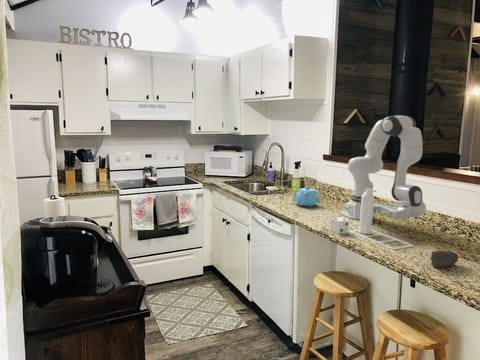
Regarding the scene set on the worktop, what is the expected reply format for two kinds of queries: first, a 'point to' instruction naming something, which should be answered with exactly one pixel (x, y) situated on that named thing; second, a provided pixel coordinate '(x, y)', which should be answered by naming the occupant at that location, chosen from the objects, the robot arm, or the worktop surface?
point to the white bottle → (366, 212)
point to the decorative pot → (306, 197)
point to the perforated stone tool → (443, 258)
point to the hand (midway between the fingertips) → (376, 210)
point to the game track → (383, 241)
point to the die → (339, 225)
